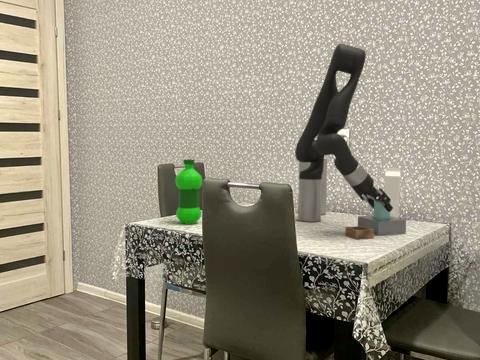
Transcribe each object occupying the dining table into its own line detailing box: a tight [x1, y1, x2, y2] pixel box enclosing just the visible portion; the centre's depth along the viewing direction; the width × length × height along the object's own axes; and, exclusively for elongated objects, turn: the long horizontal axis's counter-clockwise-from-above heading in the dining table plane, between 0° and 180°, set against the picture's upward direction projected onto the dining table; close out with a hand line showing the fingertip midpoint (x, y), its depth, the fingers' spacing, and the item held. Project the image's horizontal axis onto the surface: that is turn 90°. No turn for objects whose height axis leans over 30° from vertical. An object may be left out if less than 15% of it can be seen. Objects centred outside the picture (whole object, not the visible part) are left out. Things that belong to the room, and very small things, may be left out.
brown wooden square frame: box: [344, 225, 375, 240], centre depth 163 cm, size 7×7×3 cm
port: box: [357, 215, 407, 237], centre depth 173 cm, size 12×12×5 cm
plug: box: [373, 197, 391, 220], centre depth 173 cm, size 4×4×11 cm
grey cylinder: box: [297, 158, 328, 216], centre depth 215 cm, size 12×12×25 cm
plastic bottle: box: [174, 158, 203, 225], centre depth 186 cm, size 10×10×25 cm
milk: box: [384, 167, 402, 218], centre depth 199 cm, size 6×6×22 cm
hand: (383, 208), depth 173 cm, fingers open, 8 cm apart
